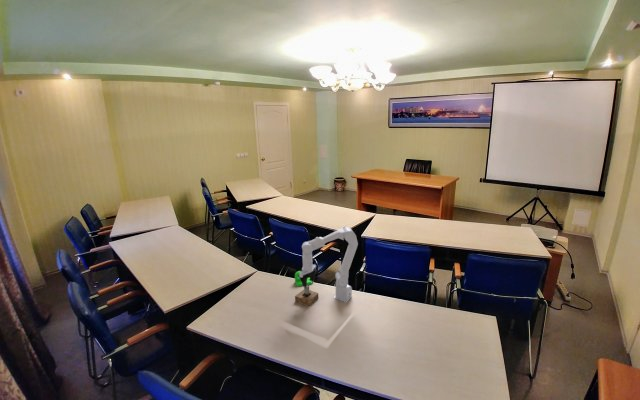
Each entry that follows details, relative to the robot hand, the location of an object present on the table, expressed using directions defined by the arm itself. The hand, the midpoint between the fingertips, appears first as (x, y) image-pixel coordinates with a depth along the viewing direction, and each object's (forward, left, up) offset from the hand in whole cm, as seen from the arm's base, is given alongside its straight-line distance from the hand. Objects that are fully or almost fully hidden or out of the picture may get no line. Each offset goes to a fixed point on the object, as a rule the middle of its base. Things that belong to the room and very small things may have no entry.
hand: (308, 283), depth 170 cm
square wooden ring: (+1, +1, -10) cm, 10 cm away
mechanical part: (+14, -15, -11) cm, 23 cm away
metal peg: (0, +1, -10) cm, 10 cm away
